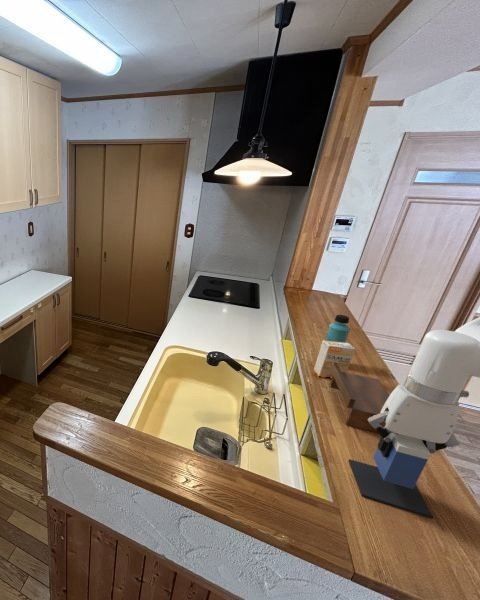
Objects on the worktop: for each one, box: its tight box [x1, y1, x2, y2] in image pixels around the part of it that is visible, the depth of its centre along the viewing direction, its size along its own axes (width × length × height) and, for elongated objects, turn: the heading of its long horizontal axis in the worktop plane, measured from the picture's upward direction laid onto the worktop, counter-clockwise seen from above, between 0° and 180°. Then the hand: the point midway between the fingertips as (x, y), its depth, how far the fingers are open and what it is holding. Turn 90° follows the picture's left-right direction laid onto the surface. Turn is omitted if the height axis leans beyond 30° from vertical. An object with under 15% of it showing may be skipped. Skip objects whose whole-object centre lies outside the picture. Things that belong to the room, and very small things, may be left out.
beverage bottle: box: [324, 314, 351, 343], centre depth 123 cm, size 6×7×20 cm
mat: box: [348, 458, 434, 520], centre depth 75 cm, size 12×11×1 cm
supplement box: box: [313, 339, 356, 379], centre depth 116 cm, size 8×5×13 cm, turn 76°
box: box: [372, 434, 432, 489], centre depth 72 cm, size 5×7×10 cm
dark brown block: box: [329, 362, 390, 434], centre depth 100 cm, size 13×22×9 cm, turn 154°
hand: (399, 456), depth 72 cm, fingers closed on box, 5 cm apart
